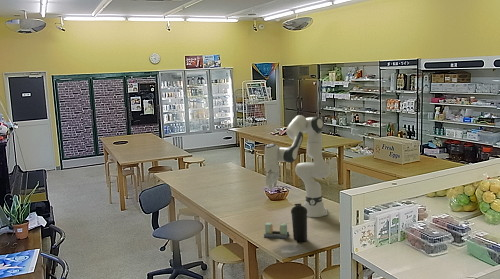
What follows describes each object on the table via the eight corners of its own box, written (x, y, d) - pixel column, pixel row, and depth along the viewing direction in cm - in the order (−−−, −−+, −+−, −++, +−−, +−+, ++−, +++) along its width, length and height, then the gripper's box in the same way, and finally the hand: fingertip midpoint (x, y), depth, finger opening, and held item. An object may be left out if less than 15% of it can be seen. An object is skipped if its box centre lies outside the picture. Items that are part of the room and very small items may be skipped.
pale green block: (287, 235, 280) (286, 223, 279) (286, 237, 277) (285, 225, 276) (281, 235, 282) (280, 223, 280) (279, 237, 278) (279, 225, 277)
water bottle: (305, 236, 280) (304, 202, 276) (310, 242, 270) (309, 206, 266) (290, 238, 278) (288, 203, 275) (294, 244, 268) (293, 208, 265)
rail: (267, 234, 288) (267, 229, 288) (289, 235, 283) (289, 230, 283) (263, 239, 279) (263, 235, 278) (286, 241, 274) (285, 236, 273)
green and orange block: (265, 236, 281) (265, 224, 280) (267, 234, 285) (266, 222, 283) (271, 236, 280) (271, 224, 279) (273, 234, 283) (272, 222, 282)
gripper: (272, 172, 276) (273, 193, 278) (280, 165, 295) (281, 184, 297) (262, 172, 278) (264, 192, 280) (271, 165, 297) (272, 184, 299)
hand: (273, 188), depth 289 cm, fingers open, 8 cm apart
